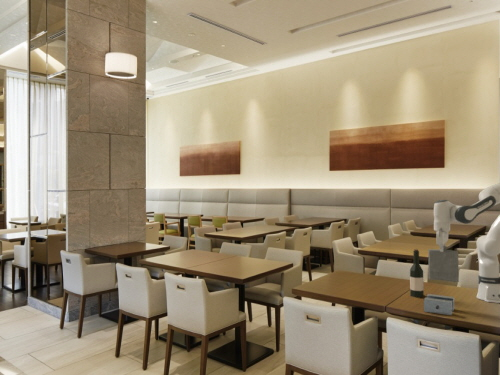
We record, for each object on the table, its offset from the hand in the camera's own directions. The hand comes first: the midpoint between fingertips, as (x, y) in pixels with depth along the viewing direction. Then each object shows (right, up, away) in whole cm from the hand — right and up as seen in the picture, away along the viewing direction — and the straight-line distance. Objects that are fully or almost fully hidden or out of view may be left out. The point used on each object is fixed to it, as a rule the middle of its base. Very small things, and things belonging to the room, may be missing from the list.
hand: (442, 251), depth 236 cm
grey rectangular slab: (+1, -17, 0) cm, 17 cm away
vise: (-5, -33, -6) cm, 34 cm away
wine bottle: (-5, -33, +25) cm, 42 cm away
